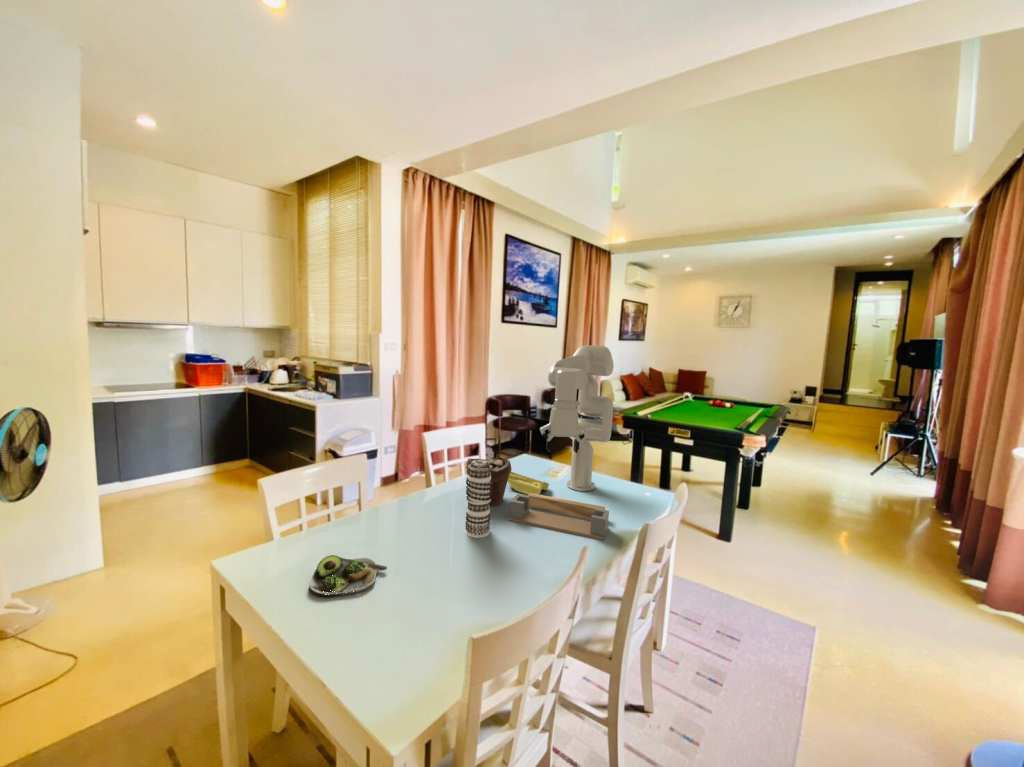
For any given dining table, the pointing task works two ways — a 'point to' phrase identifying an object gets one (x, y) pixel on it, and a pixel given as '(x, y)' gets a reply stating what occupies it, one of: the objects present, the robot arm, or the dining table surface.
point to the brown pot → (496, 477)
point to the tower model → (478, 499)
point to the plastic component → (526, 484)
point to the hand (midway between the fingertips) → (562, 451)
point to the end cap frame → (559, 519)
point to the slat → (562, 506)
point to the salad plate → (343, 575)
